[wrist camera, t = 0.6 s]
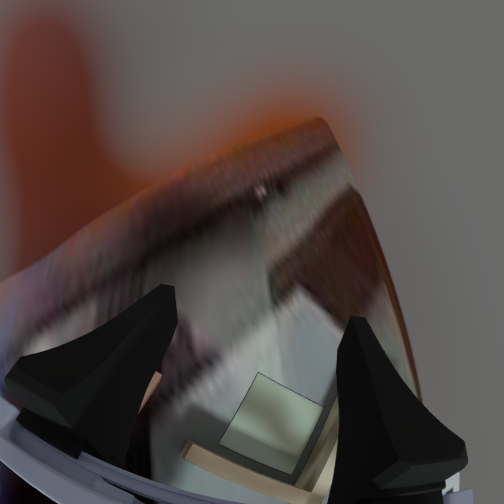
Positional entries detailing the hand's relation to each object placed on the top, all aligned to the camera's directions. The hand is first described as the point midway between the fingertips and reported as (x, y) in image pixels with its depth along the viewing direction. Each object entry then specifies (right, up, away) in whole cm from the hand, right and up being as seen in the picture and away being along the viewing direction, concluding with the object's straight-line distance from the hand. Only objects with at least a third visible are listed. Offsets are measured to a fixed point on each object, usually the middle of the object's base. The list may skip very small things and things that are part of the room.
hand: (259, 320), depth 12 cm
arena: (+2, -14, +13) cm, 19 cm away
